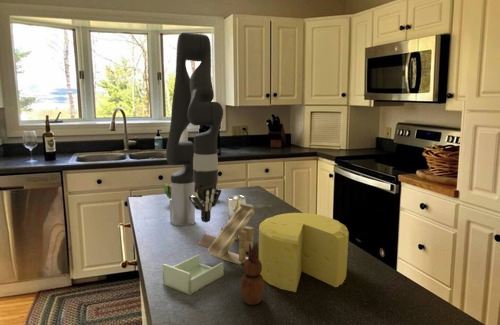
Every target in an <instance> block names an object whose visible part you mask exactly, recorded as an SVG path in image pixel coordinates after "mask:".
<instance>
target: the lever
mask: <svg viewBox="0 0 500 325" xmlns="http://www.w3.org/2000/svg"><path fill="white" fill-rule="evenodd" d="M255 211H256V210H255V207H254V205H253V204H249V203H246V204H245V203H240V207H239V208H238V210H237V211H236V212H235V214H234V215H233V216H232V218H231V219H230V220H229V221H227V223H226V224H225V225H224V226H223V227H224V228H223V229H222V231H220V232H219V233H218V234H217V236H212V235H209V234H206V233H204V234H203V236H202V237H201V238H200V239H199V241H198V242H197V245H198V246H199V247H203V248H206V249H207V252H208V253H209V254H210V255H211V256H213V257H215V258H217V257H218V258H217V259H220V258H222V257H223V256H224V255H225V253H226V252H227V250H228V251H229V249H230V248H231V247H232V245H233V243H234V242H235V241H236V240H235V239H236V238H237V236H238V235H239V232H241V231H242V229H243V228H244V227H245V226H247V224H248V222H249V221H250V220H251V218H252V217H253V215H254V214H255Z"/></svg>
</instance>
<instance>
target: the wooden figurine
mask: <svg viewBox="0 0 500 325" xmlns="http://www.w3.org/2000/svg"><path fill="white" fill-rule="evenodd" d="M247 257H248V259H247V260H246V261H245V262H244V263H243V271H244V273H243V275H242V276H241V281H240V282H241V284H240V285H241V286H240V290H241V295H242V299H243V300H242V301H244V303H246V304H247V305H251V306H255V305H258V304H259V303H261V301H262V300H263V296H264V293H265V280H263V277H262V275H261V274H260V273H261V271H262V264H261V262H260V260H259V258H257V257H258V256H256V252H255V251H254V246H253V247H252V250H251V245H250V243H249V252H248V256H247Z"/></svg>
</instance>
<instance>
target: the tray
mask: <svg viewBox="0 0 500 325" xmlns="http://www.w3.org/2000/svg"><path fill="white" fill-rule="evenodd" d="M200 260H201V259H200V254H196V255H193V256H192V257H190V258H188V259H185V260H183V261H181V262H178V263H177V264H175V265H173V266H172V265H169V264H166V263H163V264H162V282H163V283H162V285H164V286H166V287H168V288H171V289H172V290H175V291H178V292H181V293H183V294H185V295H187V294H188V296H191V295H192V294H194V292H195V293H196V292H198V291H200V290H202V289H203V288H205V287H206V285H207V286H208V285H210V284H211V282H212V283H213V282H215V281H217V280H218V278H219V279H220V278H222V277H224V271H225V270H224V262H220V263H218V264H215V265H213V266H209V265H207V264H205V263H202V262H201V261H200ZM200 262H201V263H200ZM199 289H200V290H199Z"/></svg>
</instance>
